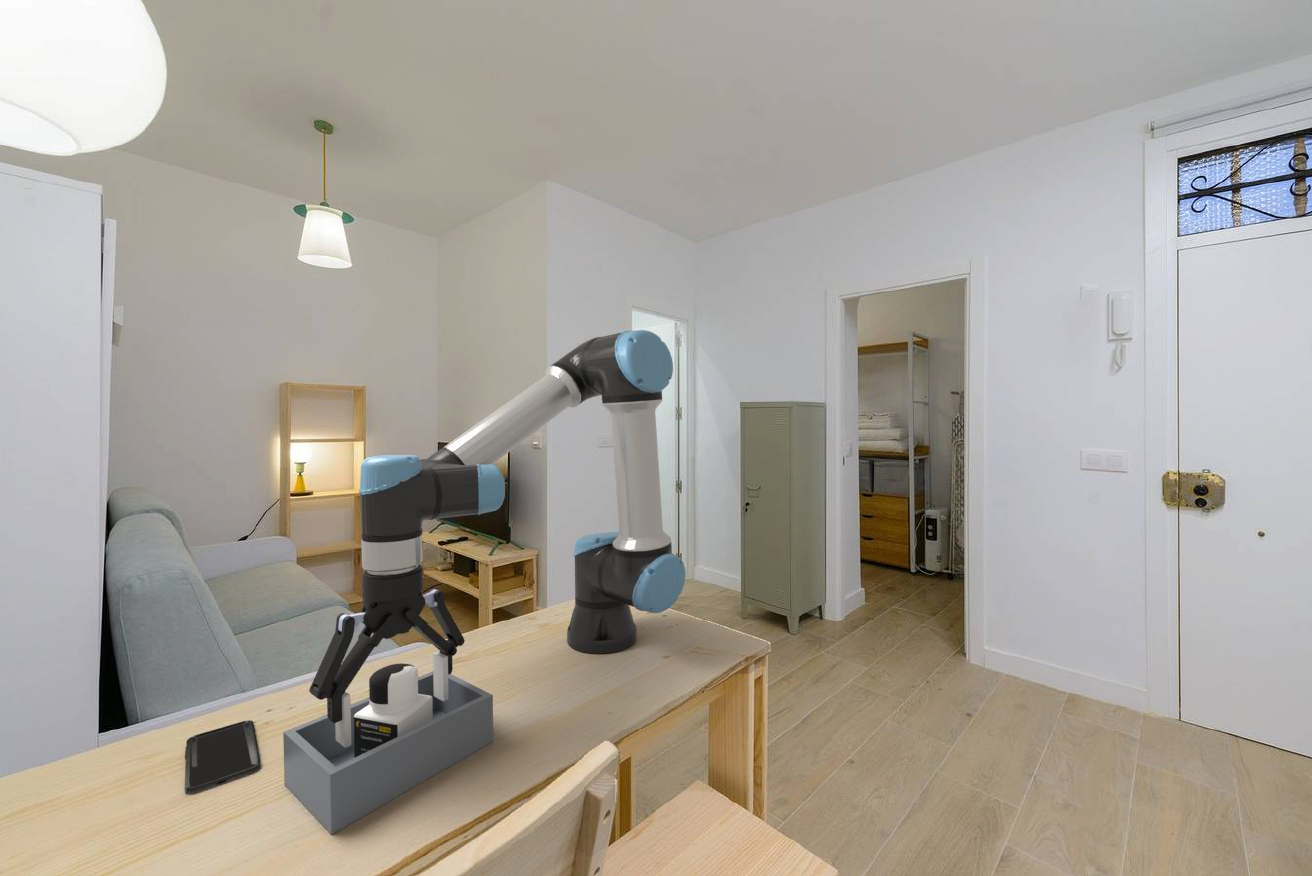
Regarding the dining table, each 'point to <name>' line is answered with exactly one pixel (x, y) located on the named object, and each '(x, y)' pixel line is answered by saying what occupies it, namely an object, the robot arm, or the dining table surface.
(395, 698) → the medicine bottle
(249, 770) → the phone
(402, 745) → the slate box
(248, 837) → the dining table surface
